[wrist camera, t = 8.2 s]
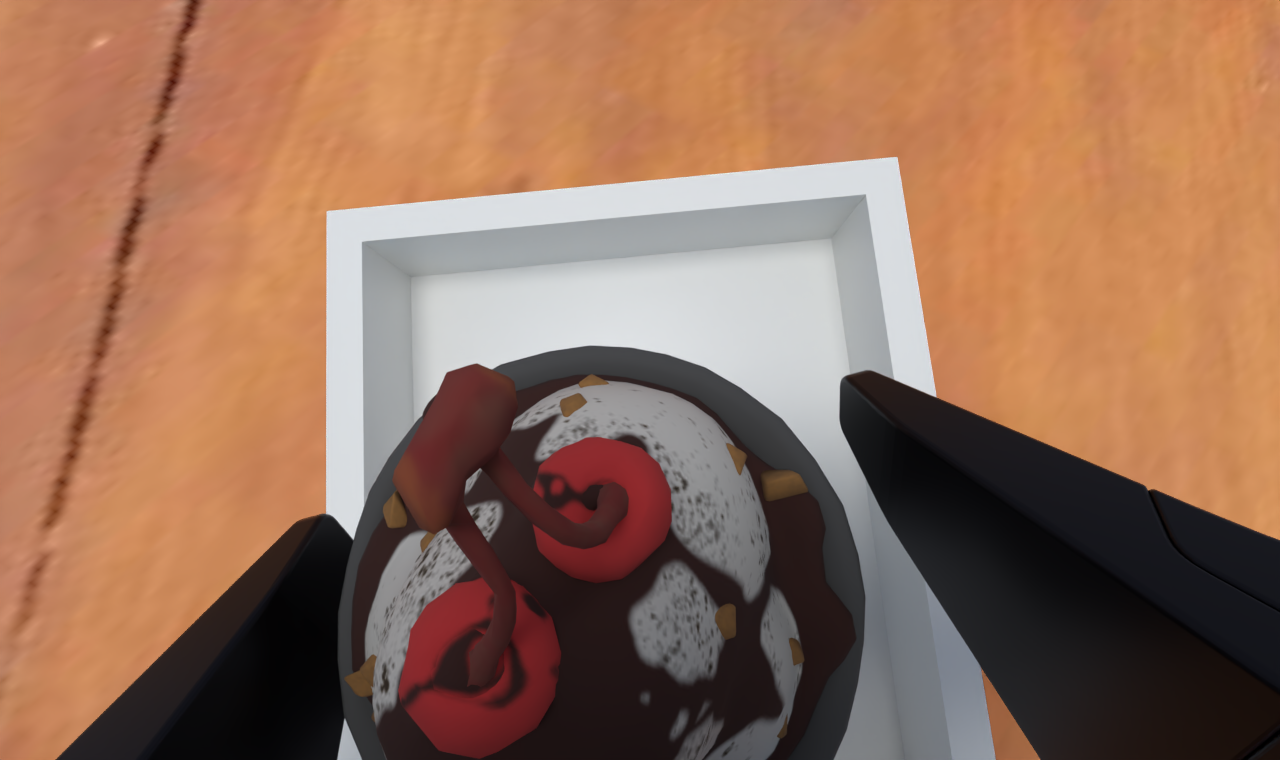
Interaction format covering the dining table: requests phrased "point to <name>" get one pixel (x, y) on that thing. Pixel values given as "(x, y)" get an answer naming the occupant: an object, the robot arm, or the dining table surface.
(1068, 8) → the dining table surface
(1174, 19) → the dining table surface
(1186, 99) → the dining table surface
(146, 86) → the dining table surface
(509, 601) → the sundae
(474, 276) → the tray
